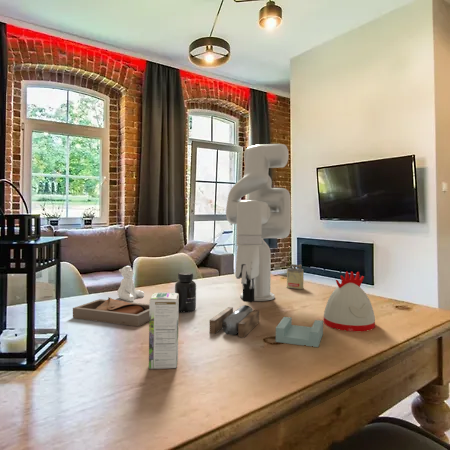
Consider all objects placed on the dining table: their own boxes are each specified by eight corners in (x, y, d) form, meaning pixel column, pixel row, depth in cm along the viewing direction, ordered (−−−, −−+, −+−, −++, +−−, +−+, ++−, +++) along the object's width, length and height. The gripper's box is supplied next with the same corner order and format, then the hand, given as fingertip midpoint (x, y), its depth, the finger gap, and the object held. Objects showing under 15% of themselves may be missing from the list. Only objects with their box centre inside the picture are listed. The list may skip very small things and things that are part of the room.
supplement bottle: (192, 313, 115) (192, 275, 115) (171, 312, 117) (171, 274, 116) (198, 307, 122) (198, 271, 121) (178, 306, 123) (178, 271, 123)
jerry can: (285, 288, 154) (285, 264, 153) (288, 286, 157) (288, 263, 156) (302, 289, 150) (302, 265, 150) (304, 288, 153) (305, 264, 153)
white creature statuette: (131, 302, 130) (131, 268, 129) (110, 300, 132) (110, 267, 132) (145, 296, 139) (145, 264, 138) (125, 294, 141) (125, 263, 141)
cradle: (284, 329, 100) (284, 316, 99) (322, 334, 96) (323, 320, 96) (275, 341, 90) (275, 327, 90) (318, 347, 87) (318, 332, 87)
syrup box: (151, 358, 80) (151, 292, 80) (179, 357, 81) (178, 291, 80) (148, 369, 74) (147, 298, 74) (178, 368, 75) (177, 298, 74)
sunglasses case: (86, 312, 114) (96, 292, 116) (103, 319, 119) (112, 299, 121) (124, 323, 103) (134, 300, 106) (141, 330, 108) (150, 308, 111)
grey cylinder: (236, 317, 109) (241, 302, 108) (250, 324, 107) (256, 309, 106) (219, 330, 97) (225, 313, 96) (235, 338, 95) (242, 322, 94)
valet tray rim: (99, 308, 122) (99, 299, 121) (160, 315, 113) (160, 305, 113) (72, 317, 110) (72, 308, 110) (137, 326, 102) (137, 315, 102)
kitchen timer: (385, 330, 99) (386, 275, 99) (337, 333, 97) (338, 276, 97) (358, 315, 113) (359, 267, 112) (316, 318, 111) (316, 268, 110)
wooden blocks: (228, 318, 110) (228, 307, 110) (259, 322, 106) (259, 310, 106) (209, 333, 97) (209, 320, 96) (244, 337, 93) (244, 324, 93)
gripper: (244, 239, 120) (244, 296, 120) (228, 241, 106) (228, 305, 106) (267, 240, 118) (266, 298, 117) (253, 242, 104) (253, 307, 104)
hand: (248, 301), depth 112 cm, fingers closed
